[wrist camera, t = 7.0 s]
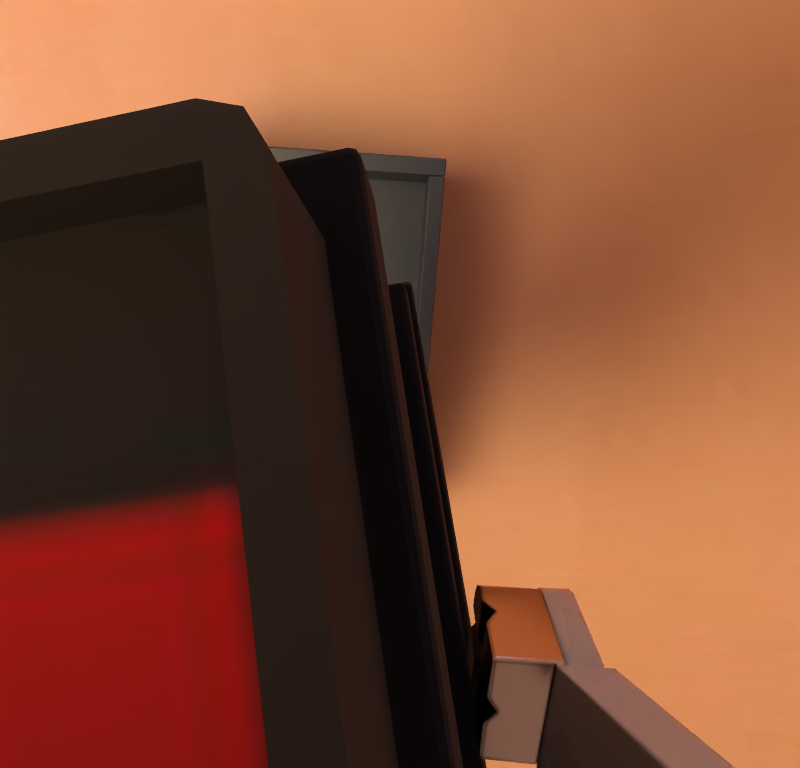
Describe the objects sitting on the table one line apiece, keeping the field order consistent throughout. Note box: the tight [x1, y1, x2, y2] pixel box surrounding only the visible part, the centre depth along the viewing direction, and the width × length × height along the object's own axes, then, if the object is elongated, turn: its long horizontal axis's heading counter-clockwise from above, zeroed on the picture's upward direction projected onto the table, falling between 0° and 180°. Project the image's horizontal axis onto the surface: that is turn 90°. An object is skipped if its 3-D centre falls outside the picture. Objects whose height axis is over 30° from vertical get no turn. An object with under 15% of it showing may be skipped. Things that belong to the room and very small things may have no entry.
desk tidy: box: [269, 147, 446, 374], centre depth 25 cm, size 17×11×6 cm, turn 176°
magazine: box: [0, 98, 486, 768], centre depth 10 cm, size 4×13×15 cm, turn 10°
